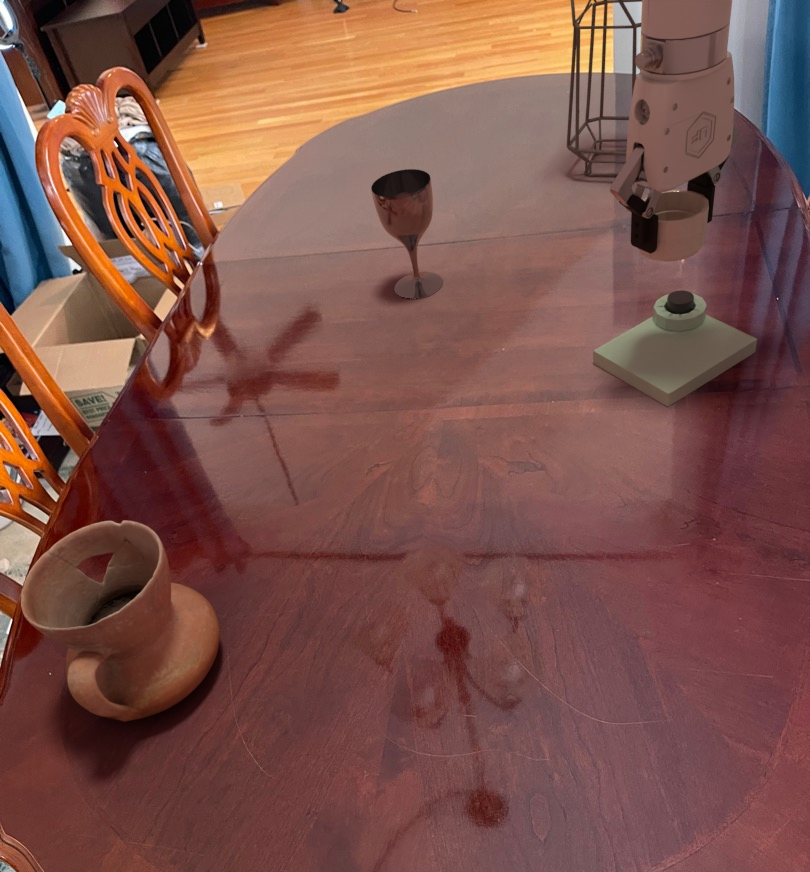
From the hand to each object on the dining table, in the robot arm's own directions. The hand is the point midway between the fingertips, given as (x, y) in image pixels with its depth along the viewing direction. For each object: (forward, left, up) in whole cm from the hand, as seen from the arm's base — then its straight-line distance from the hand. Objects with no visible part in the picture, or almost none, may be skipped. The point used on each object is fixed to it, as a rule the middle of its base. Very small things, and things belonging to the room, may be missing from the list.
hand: (671, 232), depth 86 cm
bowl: (0, 0, -2) cm, 2 cm away
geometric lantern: (-32, -42, -16) cm, 55 cm away
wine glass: (+11, -37, -16) cm, 41 cm away
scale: (0, +1, -16) cm, 16 cm away
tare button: (-5, -2, -12) cm, 14 cm away
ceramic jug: (+68, +1, -16) cm, 69 cm away
